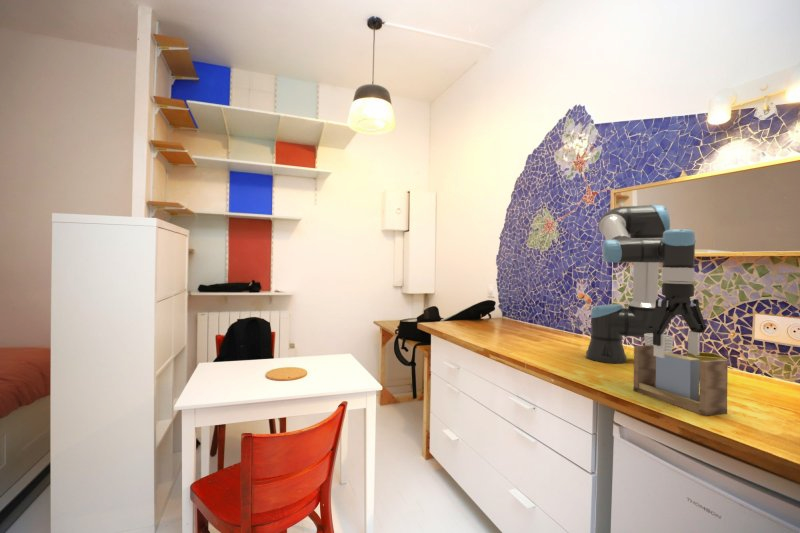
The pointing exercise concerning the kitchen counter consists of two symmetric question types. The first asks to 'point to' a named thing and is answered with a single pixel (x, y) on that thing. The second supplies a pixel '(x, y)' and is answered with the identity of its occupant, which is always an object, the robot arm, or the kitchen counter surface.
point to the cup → (668, 341)
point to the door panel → (678, 375)
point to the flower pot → (705, 357)
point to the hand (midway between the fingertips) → (676, 355)
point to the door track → (709, 398)
